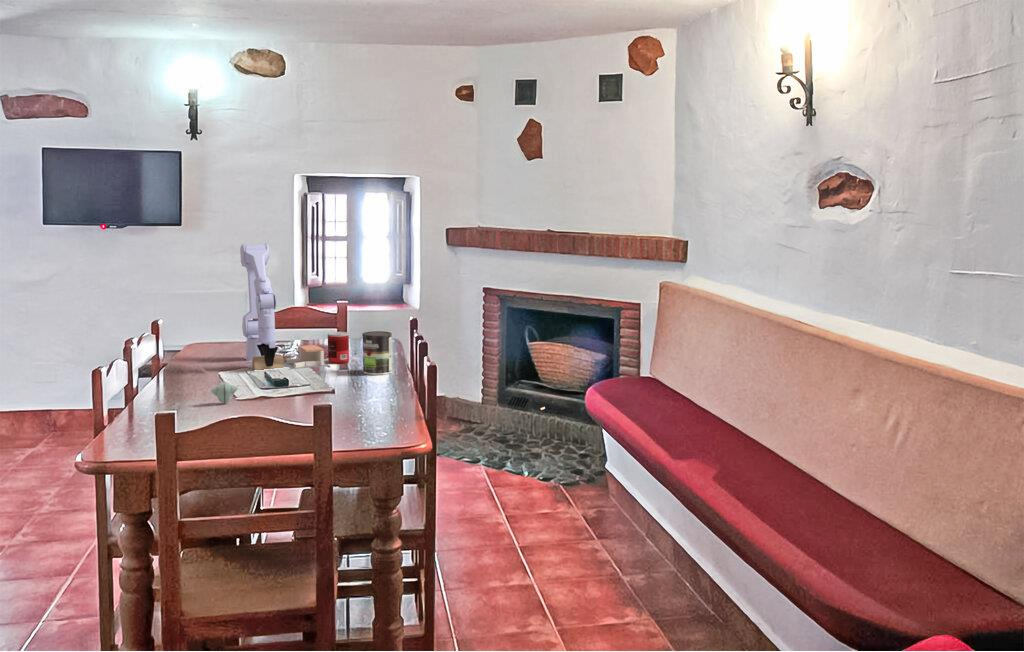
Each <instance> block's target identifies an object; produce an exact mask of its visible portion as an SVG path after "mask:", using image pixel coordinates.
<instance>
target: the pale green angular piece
mask: <svg viewBox="0 0 1024 652" xmlns="http://www.w3.org/2000/svg"><path fill="white" fill-rule="evenodd" d="M238 389H239V388H238V386H237V385H232V384H231V383H230V382H227V381H220V383H219V384H217V385H216V386H214V387H212V388H211V389H210V391H211V393H212V394H213V395H214V396H215V397H217V399H218V401H219V402H220V403H221V404H224V405H226V404H227V403H229V402H230V401H231V399H232V397H233V395H234V394H236V392H237V391H238Z"/></svg>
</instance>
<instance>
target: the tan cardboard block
mask: <svg viewBox="0 0 1024 652" xmlns="http://www.w3.org/2000/svg"><path fill="white" fill-rule="evenodd" d="M283 362H284V356H283V355H282V354H275V357H274V362H273V366H266V363H265V357H264V356H255V357H252V362H251V365H252V368H253V370H264V369H274V368H283ZM253 370H252V371H253Z"/></svg>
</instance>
